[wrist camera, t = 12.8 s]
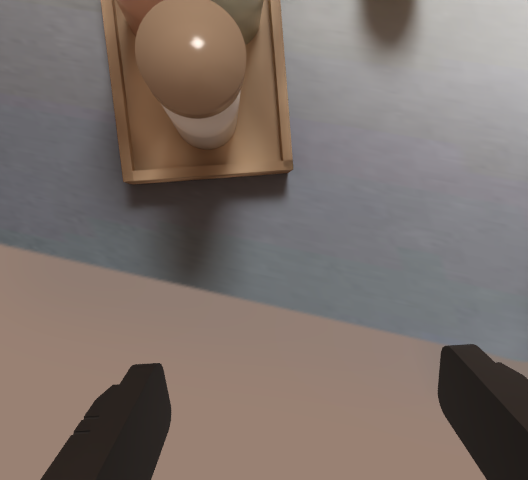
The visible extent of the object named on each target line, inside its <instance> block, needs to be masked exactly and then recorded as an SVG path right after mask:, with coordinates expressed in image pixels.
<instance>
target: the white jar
mask: <svg viewBox="0 0 528 480" xmlns="http://www.w3.org/2000/svg"><path fill="white" fill-rule="evenodd" d="M135 56H136V62H137V65H138V69H139V71H140V73H141V76H142V78H143V79H144V81H145V83H146V84H147V86H148V87H149V89H150V90H151V92H152V94H153V95H154V96H155V98H156V99H157V100H158V101H159V102H160V103H161V105H162V106H163V108H164V110H165V111H166V113H167V114H168V116H169V118H170V119H171V121H172V123H173V124H174V126H175V127H176V129H177V131H178V132H179V134H180V136H181V137H182V138H183V139H184V140H185V141H186V142H187V143H188V144H190V145H191V146H193V147H196V148H199V149H203V150H211V149H216V148H219V147H221V146H223V145H224V144H226V143H227V142H228V141H229V140H230V139H231V137H232V136H233V134H234V132H235V129H236V125H237V117H238V109H239V101H240V92H241V88H242V85H243V81H244V75H245V67H246V47H245V42H244V39H243V36H242V33H241V31H240V29H239V27H238V25H237V24H236V22H235V21H234V19H233V18H232V17H231V16H230V15H229V14H228V12H226V11H225V10H224V9H223V8H222V7H221V6H219V5H217V4H216V3H214V2H212V1H210V0H163V1H161V2H159V3H158V4H156V5H155V6H154V7H153V8H152V9H151V10H150V11H149V12H148V13H147V14H146V15H145V17H144V18H143V20H142V22H141V24H140V25H139V28H138V31H137V35H136V39H135Z"/></svg>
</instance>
